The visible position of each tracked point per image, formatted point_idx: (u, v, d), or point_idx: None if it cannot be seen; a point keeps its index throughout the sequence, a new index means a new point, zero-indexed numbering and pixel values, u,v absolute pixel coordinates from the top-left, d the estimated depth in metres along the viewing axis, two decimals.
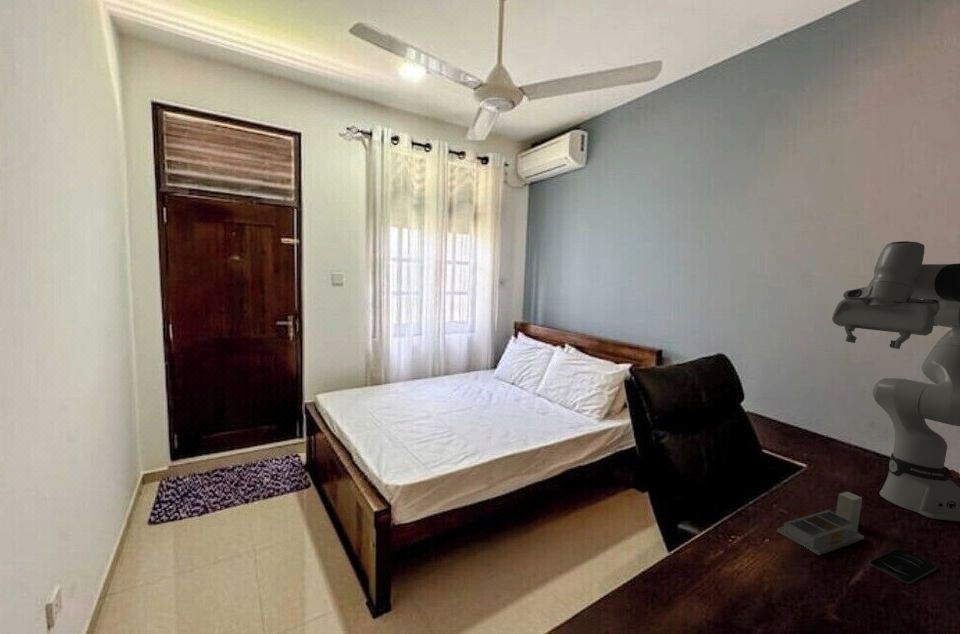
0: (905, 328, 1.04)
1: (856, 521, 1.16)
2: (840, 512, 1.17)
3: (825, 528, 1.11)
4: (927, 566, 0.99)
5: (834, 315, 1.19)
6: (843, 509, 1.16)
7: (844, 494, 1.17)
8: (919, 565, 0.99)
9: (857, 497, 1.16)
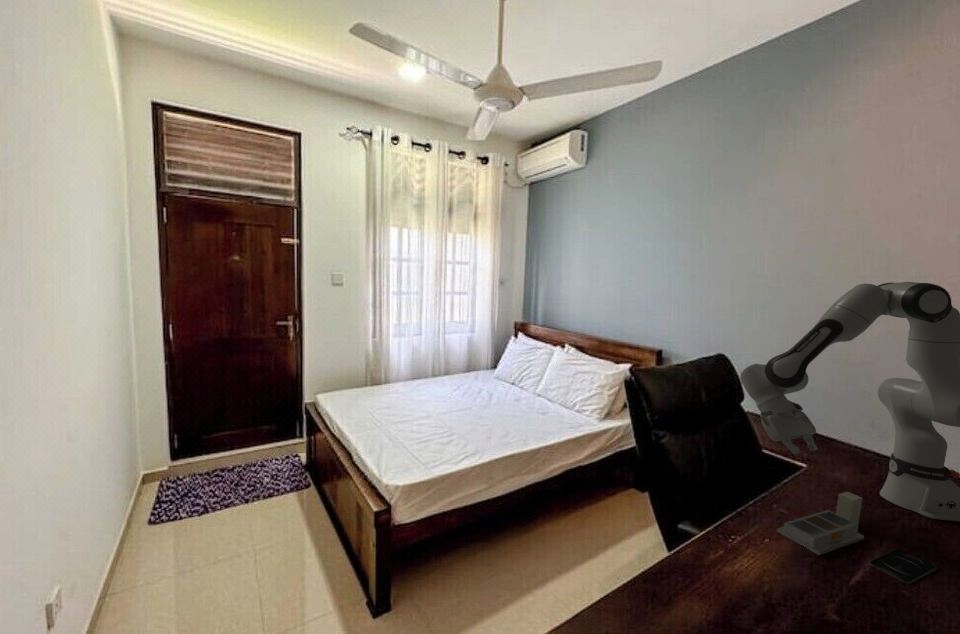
0: None
1: (856, 521, 1.16)
2: (840, 512, 1.17)
3: (825, 528, 1.11)
4: (927, 566, 0.99)
5: None
6: (843, 509, 1.16)
7: (844, 494, 1.17)
8: (919, 565, 0.99)
9: (857, 497, 1.16)
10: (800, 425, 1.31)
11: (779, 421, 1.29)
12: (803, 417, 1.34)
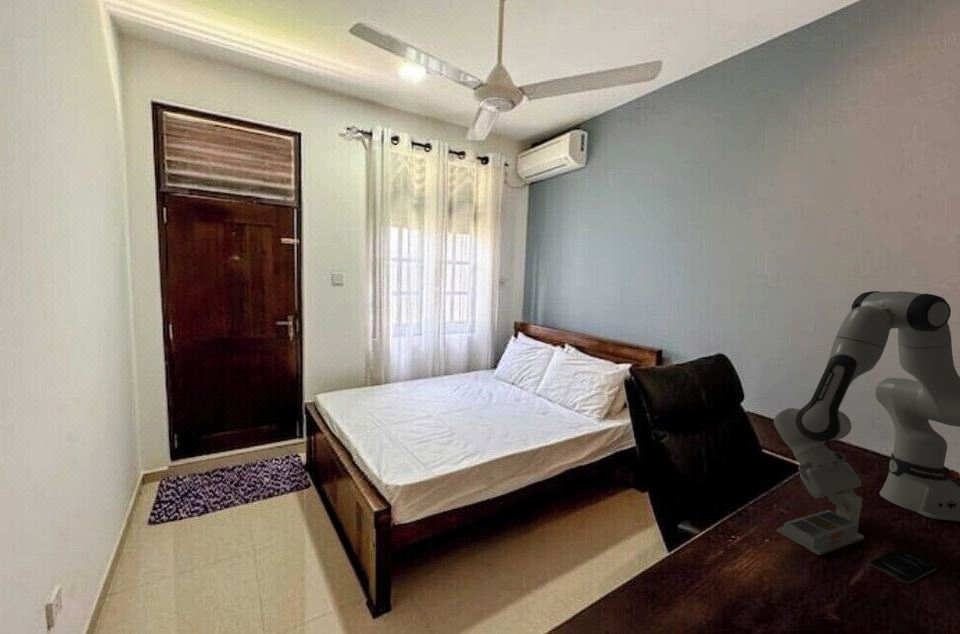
0: None
1: (856, 521, 1.16)
2: (840, 512, 1.17)
3: (825, 528, 1.11)
4: (927, 566, 0.99)
5: None
6: None
7: (844, 494, 1.17)
8: (919, 565, 0.99)
9: (857, 497, 1.16)
10: (844, 477, 1.21)
11: (820, 475, 1.19)
12: (846, 468, 1.24)
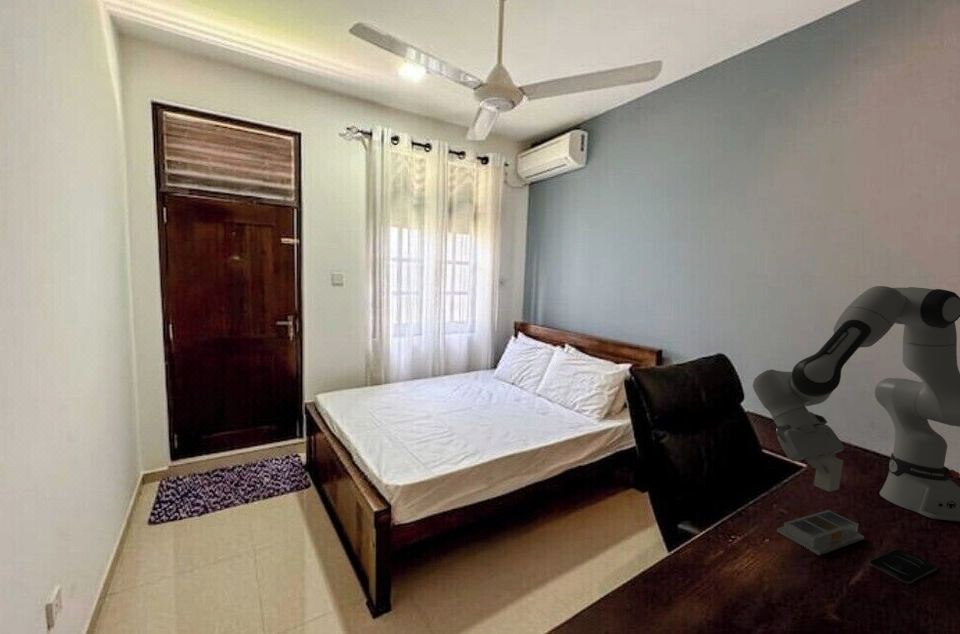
0: None
1: (836, 486, 1.08)
2: (819, 476, 1.08)
3: (825, 528, 1.11)
4: (927, 566, 0.99)
5: None
6: None
7: (824, 457, 1.09)
8: (919, 565, 0.99)
9: (838, 460, 1.07)
10: (824, 440, 1.12)
11: (799, 437, 1.10)
12: (828, 431, 1.15)
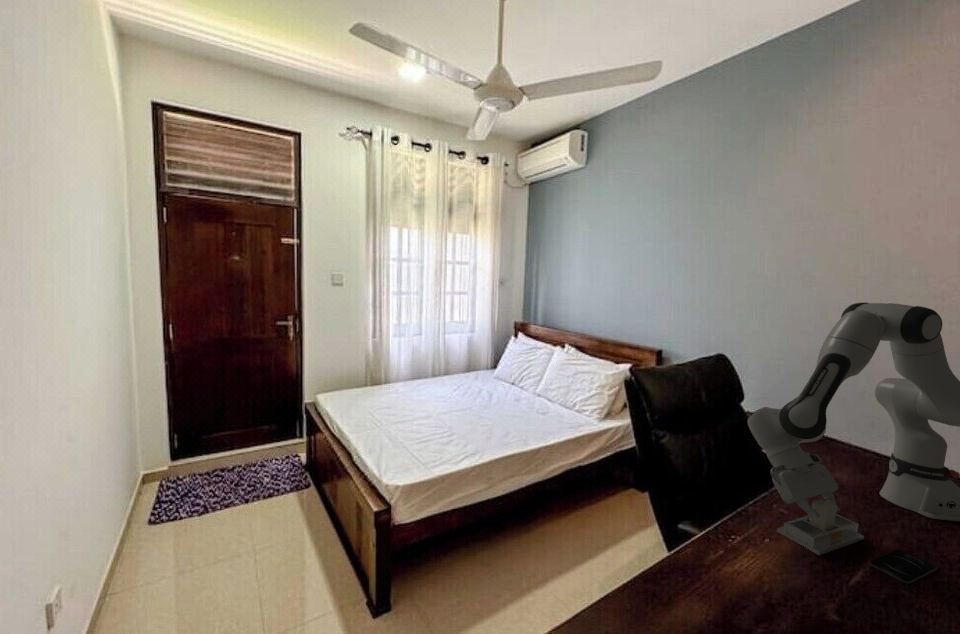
0: None
1: None
2: (813, 521, 1.10)
3: None
4: (927, 566, 0.99)
5: None
6: (817, 518, 1.09)
7: (818, 502, 1.10)
8: (919, 565, 0.99)
9: (831, 505, 1.08)
10: (819, 481, 1.13)
11: (793, 478, 1.11)
12: (822, 470, 1.16)
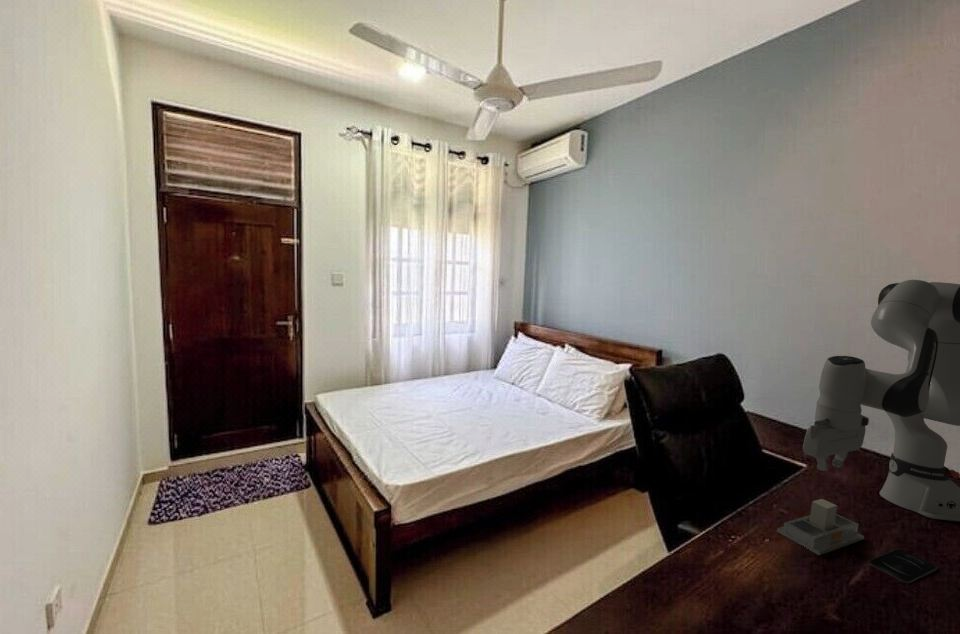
0: None
1: None
2: (813, 521, 1.10)
3: None
4: (927, 566, 0.99)
5: None
6: (817, 518, 1.09)
7: (818, 502, 1.10)
8: (919, 565, 0.99)
9: (831, 505, 1.08)
10: (849, 441, 1.07)
11: (829, 437, 1.04)
12: (860, 431, 1.08)
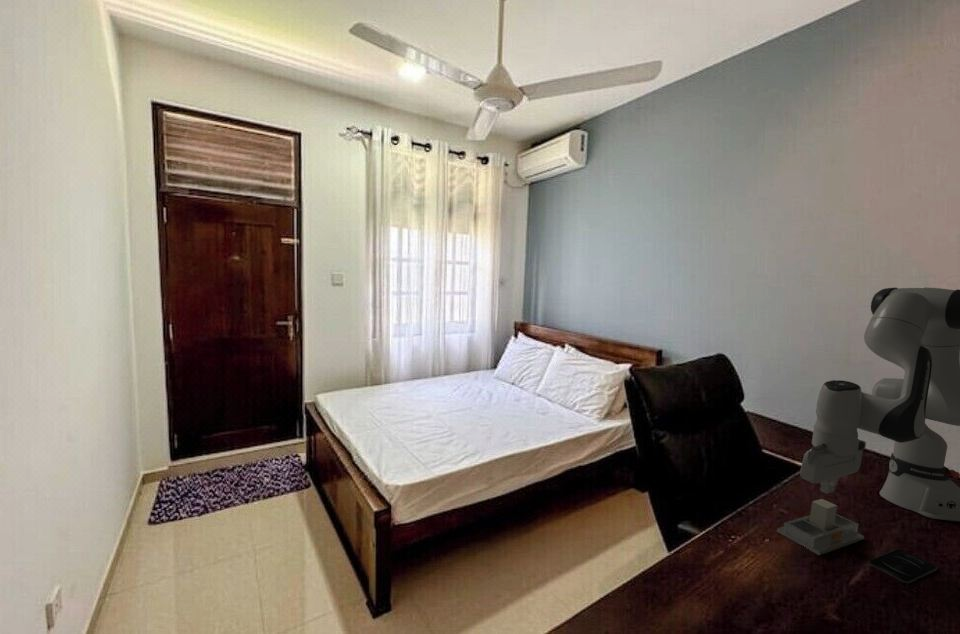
0: None
1: None
2: (813, 521, 1.10)
3: None
4: (928, 566, 0.99)
5: None
6: (817, 518, 1.09)
7: (818, 502, 1.10)
8: (919, 565, 0.99)
9: (831, 505, 1.08)
10: (846, 465, 1.08)
11: (826, 462, 1.04)
12: (857, 455, 1.09)
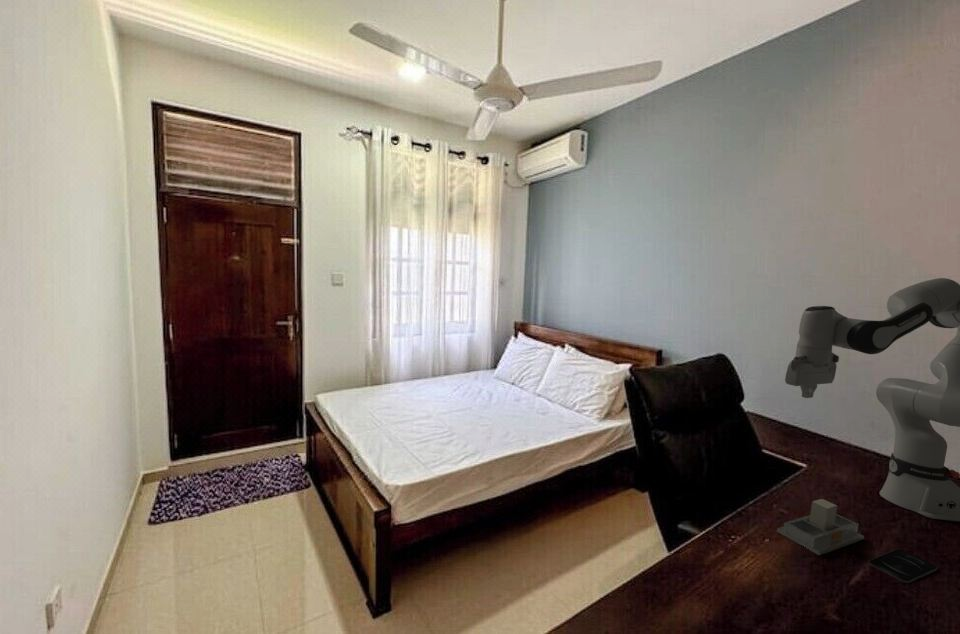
0: None
1: None
2: (813, 521, 1.10)
3: None
4: (928, 566, 0.99)
5: None
6: (817, 518, 1.09)
7: (818, 502, 1.10)
8: (919, 565, 0.99)
9: (831, 505, 1.08)
10: (823, 375, 1.32)
11: (806, 370, 1.29)
12: (832, 368, 1.33)
